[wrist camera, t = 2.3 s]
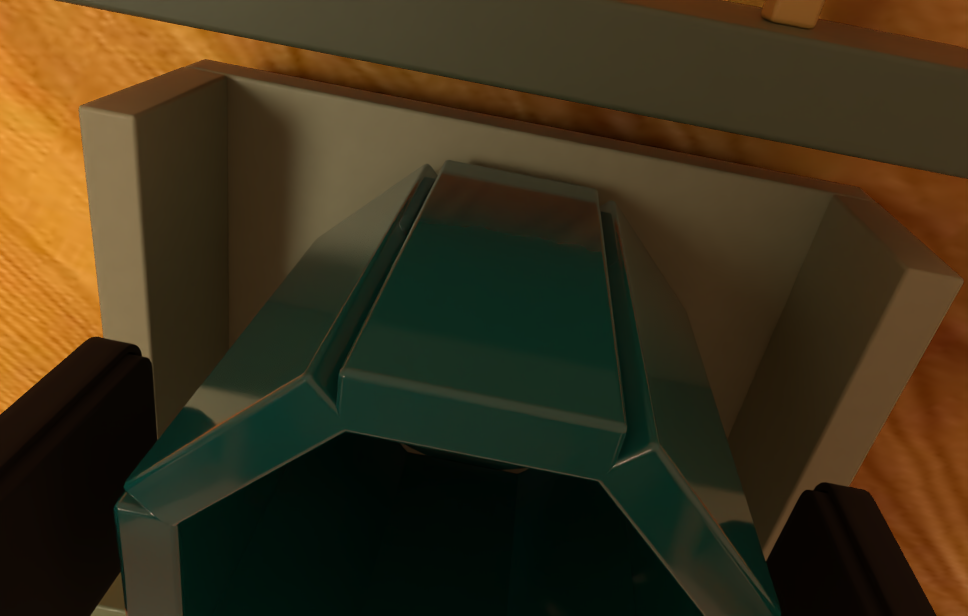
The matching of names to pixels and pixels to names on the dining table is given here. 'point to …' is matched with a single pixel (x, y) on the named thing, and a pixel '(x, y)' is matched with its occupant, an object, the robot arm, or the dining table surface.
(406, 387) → the green octagonal cup
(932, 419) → the dining table surface
